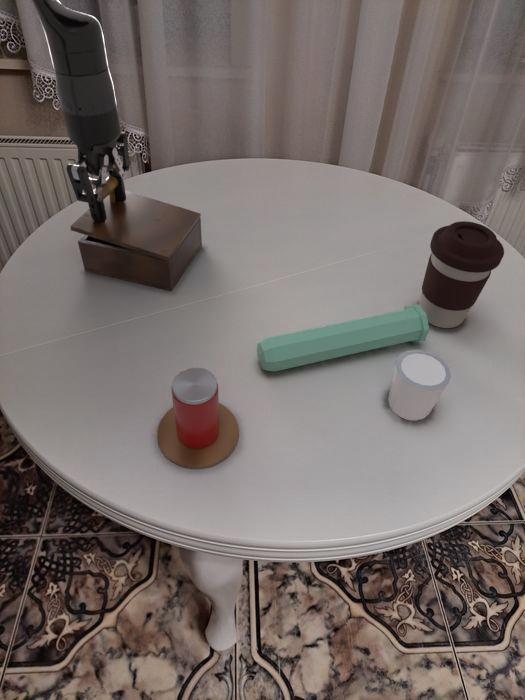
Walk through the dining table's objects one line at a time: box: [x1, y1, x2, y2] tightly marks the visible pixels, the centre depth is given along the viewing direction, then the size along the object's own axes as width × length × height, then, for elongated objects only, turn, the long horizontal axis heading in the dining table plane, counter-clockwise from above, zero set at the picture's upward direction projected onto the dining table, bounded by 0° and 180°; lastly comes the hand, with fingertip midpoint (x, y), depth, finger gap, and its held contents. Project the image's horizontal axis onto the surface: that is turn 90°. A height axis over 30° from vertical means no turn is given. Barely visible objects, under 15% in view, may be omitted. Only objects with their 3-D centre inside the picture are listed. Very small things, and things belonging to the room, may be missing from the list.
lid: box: [70, 175, 202, 261], centre depth 82 cm, size 16×14×5 cm
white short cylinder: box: [387, 349, 452, 422], centre depth 66 cm, size 7×7×7 cm
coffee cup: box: [418, 220, 505, 329], centre depth 76 cm, size 10×10×15 cm
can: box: [171, 366, 220, 449], centre depth 60 cm, size 5×5×9 cm
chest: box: [77, 217, 203, 292], centre depth 86 cm, size 16×14×6 cm
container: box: [256, 303, 430, 372], centre depth 73 cm, size 6×6×25 cm
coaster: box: [156, 403, 240, 470], centre depth 63 cm, size 10×10×1 cm
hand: (110, 209), depth 83 cm, fingers closed on lid, 6 cm apart
